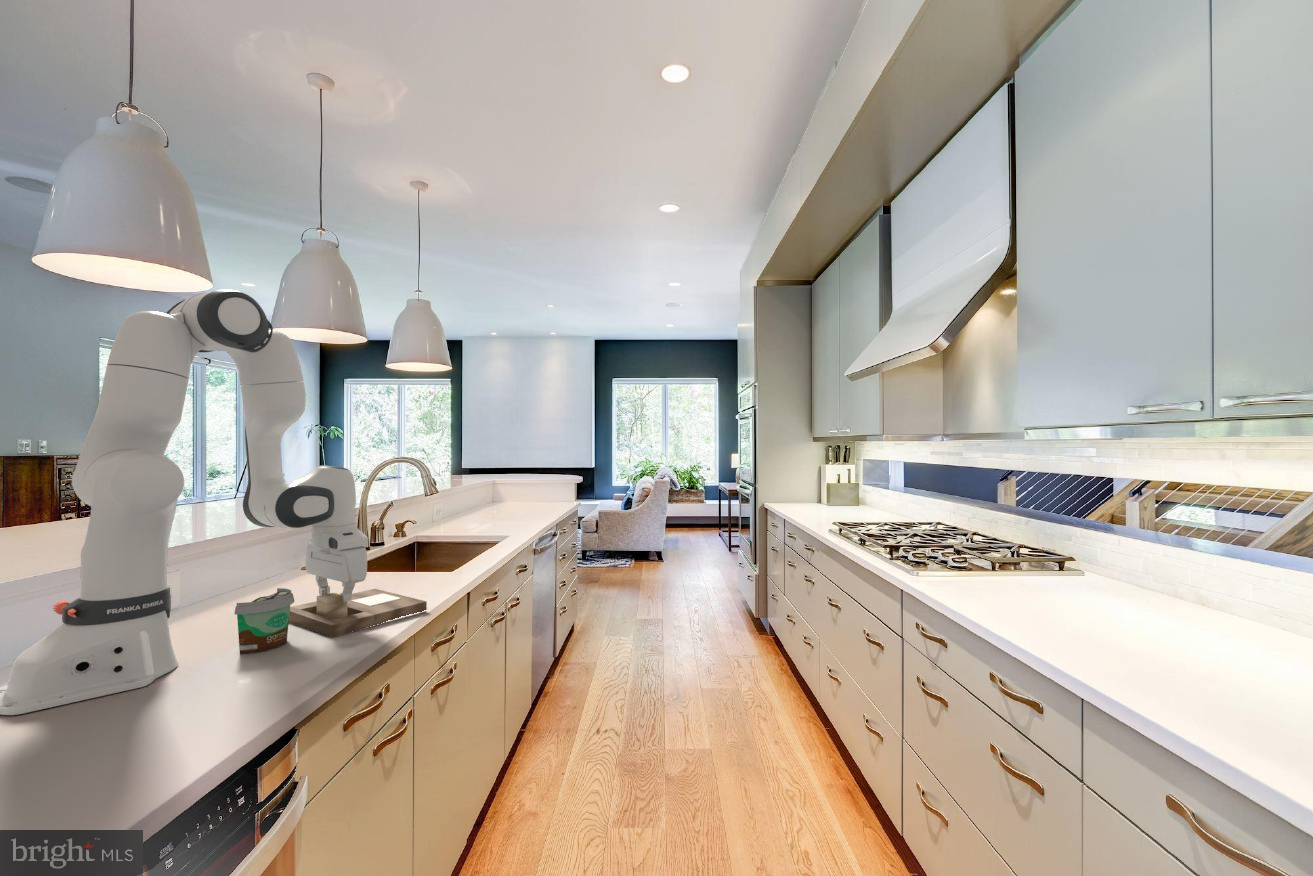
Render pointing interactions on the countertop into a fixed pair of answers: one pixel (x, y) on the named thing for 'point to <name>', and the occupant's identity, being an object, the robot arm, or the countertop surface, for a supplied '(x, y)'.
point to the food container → (264, 622)
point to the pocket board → (357, 612)
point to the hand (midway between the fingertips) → (335, 597)
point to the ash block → (331, 606)
